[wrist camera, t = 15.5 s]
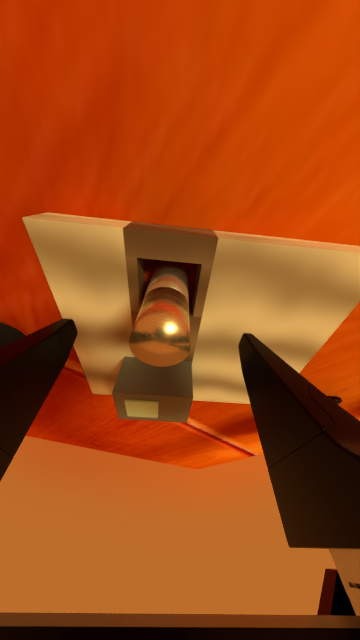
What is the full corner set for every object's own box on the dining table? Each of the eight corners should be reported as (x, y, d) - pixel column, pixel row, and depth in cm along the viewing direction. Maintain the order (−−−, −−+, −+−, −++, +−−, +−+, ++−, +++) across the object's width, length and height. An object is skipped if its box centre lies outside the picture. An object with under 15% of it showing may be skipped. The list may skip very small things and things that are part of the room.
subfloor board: (265, 388, 26) (271, 405, 24) (100, 377, 25) (92, 393, 23) (365, 246, 13) (397, 257, 11) (47, 212, 12) (22, 217, 10)
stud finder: (186, 387, 21) (186, 424, 18) (128, 383, 21) (118, 420, 18) (191, 361, 18) (193, 399, 15) (124, 356, 18) (111, 394, 15)
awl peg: (186, 291, 16) (189, 367, 9) (154, 291, 16) (133, 366, 9) (188, 259, 14) (192, 323, 8) (151, 258, 14) (123, 322, 8)
